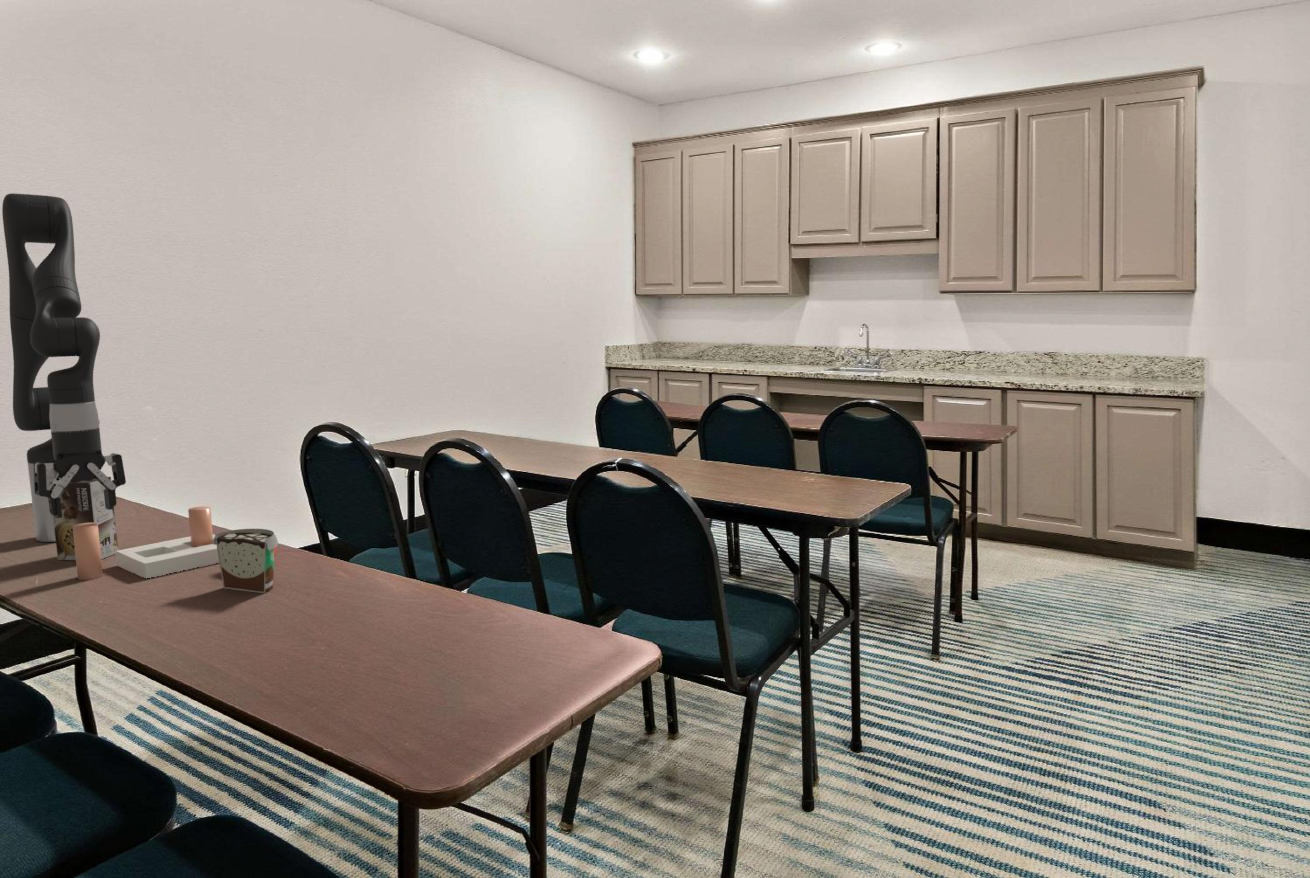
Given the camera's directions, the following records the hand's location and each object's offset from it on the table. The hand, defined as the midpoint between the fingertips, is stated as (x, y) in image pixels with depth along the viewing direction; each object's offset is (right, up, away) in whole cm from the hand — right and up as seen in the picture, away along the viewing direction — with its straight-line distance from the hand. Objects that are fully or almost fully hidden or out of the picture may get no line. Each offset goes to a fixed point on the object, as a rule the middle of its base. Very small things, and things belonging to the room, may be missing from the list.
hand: (84, 513), depth 166 cm
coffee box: (-9, -10, +16) cm, 21 cm away
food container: (+34, -13, -4) cm, 37 cm away
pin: (0, -12, +2) cm, 12 cm away
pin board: (+12, -11, +12) cm, 20 cm away
